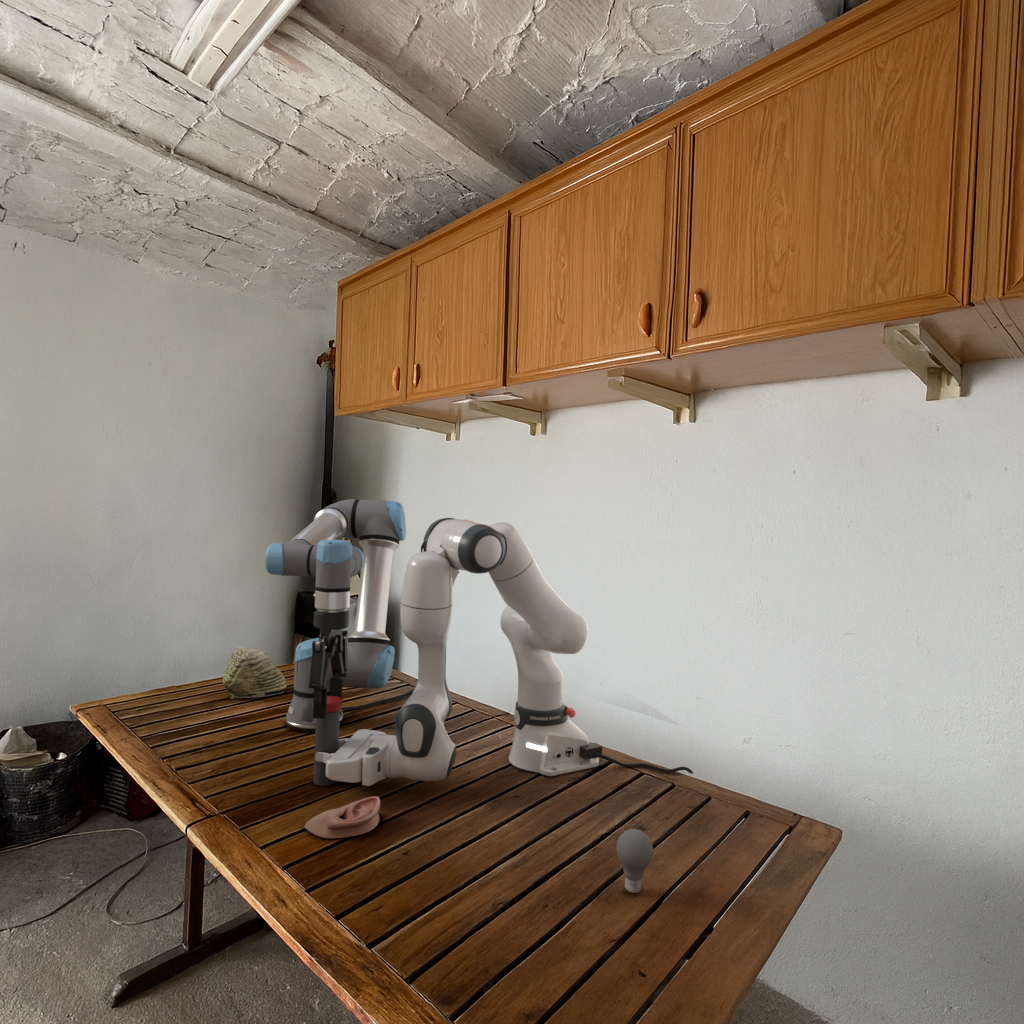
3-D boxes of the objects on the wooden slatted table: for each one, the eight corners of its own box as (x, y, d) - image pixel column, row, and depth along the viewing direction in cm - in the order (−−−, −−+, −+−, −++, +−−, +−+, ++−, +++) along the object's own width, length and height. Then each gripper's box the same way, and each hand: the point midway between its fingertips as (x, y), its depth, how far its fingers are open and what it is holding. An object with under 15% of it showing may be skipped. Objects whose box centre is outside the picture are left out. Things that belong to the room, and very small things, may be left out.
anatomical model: (296, 812, 118) (326, 786, 130) (295, 833, 118) (325, 805, 130) (362, 823, 116) (387, 795, 127) (361, 844, 116) (386, 814, 127)
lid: (344, 711, 140) (344, 702, 140) (317, 714, 137) (317, 705, 137) (338, 703, 145) (338, 694, 145) (312, 706, 142) (313, 697, 142)
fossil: (218, 695, 195) (220, 647, 195) (278, 685, 208) (279, 640, 207) (228, 703, 189) (230, 653, 188) (289, 692, 201) (290, 645, 201)
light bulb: (610, 879, 108) (613, 822, 108) (644, 879, 109) (647, 822, 109) (619, 902, 102) (622, 840, 102) (655, 901, 103) (658, 840, 103)
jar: (339, 783, 140) (342, 704, 140) (315, 787, 138) (318, 706, 138) (334, 774, 145) (337, 697, 145) (311, 777, 143) (314, 699, 142)
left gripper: (335, 601, 151) (331, 697, 152) (294, 615, 131) (289, 725, 131) (365, 604, 150) (361, 699, 150) (328, 618, 130) (323, 729, 130)
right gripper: (397, 725, 150) (341, 720, 152) (367, 759, 130) (303, 753, 131) (396, 751, 150) (340, 746, 152) (366, 790, 130) (302, 783, 131)
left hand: (327, 711), depth 141 cm, fingers open, 8 cm apart
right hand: (322, 749), depth 141 cm, fingers closed on jar, 5 cm apart
